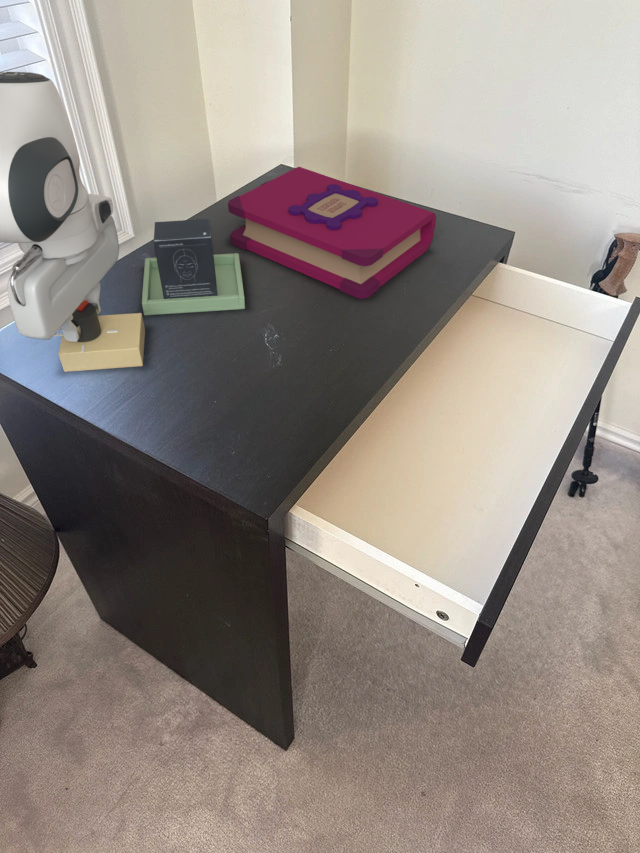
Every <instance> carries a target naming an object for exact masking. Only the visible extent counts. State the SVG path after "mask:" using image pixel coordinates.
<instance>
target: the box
mask: <svg viewBox="0 0 640 853" xmlns="http://www.w3.org/2000/svg"><path fill="white" fill-rule="evenodd" d="M153 230H154V231H153V241H152V242H153V248H154V254H155V258H156V259H157V265H158V270H159V275H160V281H161V286H162V291H163V297H164V299H173V298H189V297H205V296H218V295H217V283H216V273H215V263H214V255H215V254H214V245H213V237H212V227H211V220H210V219H209V218H201V219H200V218H199V219H183V220H168V221H155V222H154V229H153Z"/></svg>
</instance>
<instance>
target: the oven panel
mask: <svg viewBox="0 0 640 853" xmlns="http://www.w3.org/2000/svg"><path fill="white" fill-rule="evenodd" d="M143 318H144V317H143V314H142V312H136V313H118V314H104V315H98V319H99V323H100V327H101V334H100V336H99V337H98V338H96V339H94V340H92V341H89V342H72V341H67V340H65V338H64V336H63V333H56V334H55V335H54V336H53V337H61V339H60V345H59V349H58V357H59V361H60V363H61V366H62V369H63V372H64V373H69V372H83V371H95V370H97V371H98V370H107V369H109V370H110V369H123V368H135V367H143V366H144V357H145V356H144V354H145V353H144V352H145V340H146V338H145V336H146V326H145V323H144V322H145V321H144V319H143Z"/></svg>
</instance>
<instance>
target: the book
mask: <svg viewBox="0 0 640 853" xmlns="http://www.w3.org/2000/svg"><path fill="white" fill-rule="evenodd" d="M227 209H228V212H229V214H230V215H234V216H236V217H239V218H241V219H243V220H245V225H244V226H242V225H241V226H240V227H238V228H236V229H234V230H232V231H231V232H230V234H229V239H230V244H231V245H232V246H234V247H236V248H239V249H241V250H243V251H246V250H247V251H249V252H251V253H253V254H257V255H259V256H260V257H263V258H266V259H268V260H270V261H272V262H275V263H278V264H280V265H282V266H284V267H287V268H289V269H291V270H294V271H295V272H298V273H300V274H303V275H305V276H307V277H310V278H312V279H314V280H316V281H319V282H322V283H324V284H326V285H329V286H331V287H333V288H336V289H337V290H339V291H340V292H342V293H344V294H347V295H348V296H351V297H353V298H355V299H359V300H365V299H369V298H370V297H371V296H373V295H374V294H375V293H377V292H378V291H379V290H380V287H382V286H384V284H386V283H387V282H388V281H390V280H391V279H392V278H393V277H395V276H396V275H397V274H399V273H400V272H402V271H403V270H404V269H406V268H407V267H408V266H410V264H411V263H413V262H414V261H415V260H417V259H418V258H420V257H421V256H422V255H424V254H425V253H427V251H428V250H429V248H430V247H431V245H432V242H433V239H434V234H435V230H436V229H435V228H436V223H437V215H436V213H435V212H433V211H430V210H428V209H424V208H422V207H418V206H416V205H413V204H410V203H408V202H407V203H406V202H404V201H401V200H398V199H395V198H392V197H389V196H386V195H383V194H381V193H378V192H374V191H372V190H370V189H369V190H368V189H366V188H363V187H360V186H357V185H354V184H351V183H348V182H345V181H343V180H340V179H337V178H333V177H330V176H327V175H325V174H322V173H320V172H316V171H313V170H311V169H307V168H304V167H302V166H297V167H295V168H294V169H293V168H292V169H291V170H289V171H287V172H285V173H283V174H281V175H279V176H277V177H275V178H273V179H270V180H269V181H267V182H265V183H263V184H261V185H259V186H257V187H255V188H253V189H251V190H249V191H247V192H245V193H242V194H241V195H237V196H235V197H233V198H231V199H229V200H228V202H227Z"/></svg>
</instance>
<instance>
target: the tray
mask: <svg viewBox="0 0 640 853" xmlns="http://www.w3.org/2000/svg"><path fill="white" fill-rule="evenodd" d="M240 260H241V259H240V254H239V253H237V252H236V253H217V254H214V263H215V273H216V283H217V295H218V296H205V297H189V298H173V299H164V297H163V291H162V286H161V281H160V275H159V270H158V265H157V259H156V257H146V258H144V268H143V282H142V294H141V296H142V297H141V306H142V311H143V316H154V315H155V316H156V315H171V314H172V315H173V314H187V313H203V312H217V311H233V310H245V309H246V304H245V302H246V301H245V292H244V285H243V284H244V283H243V276H242V269H241V261H240Z"/></svg>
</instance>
